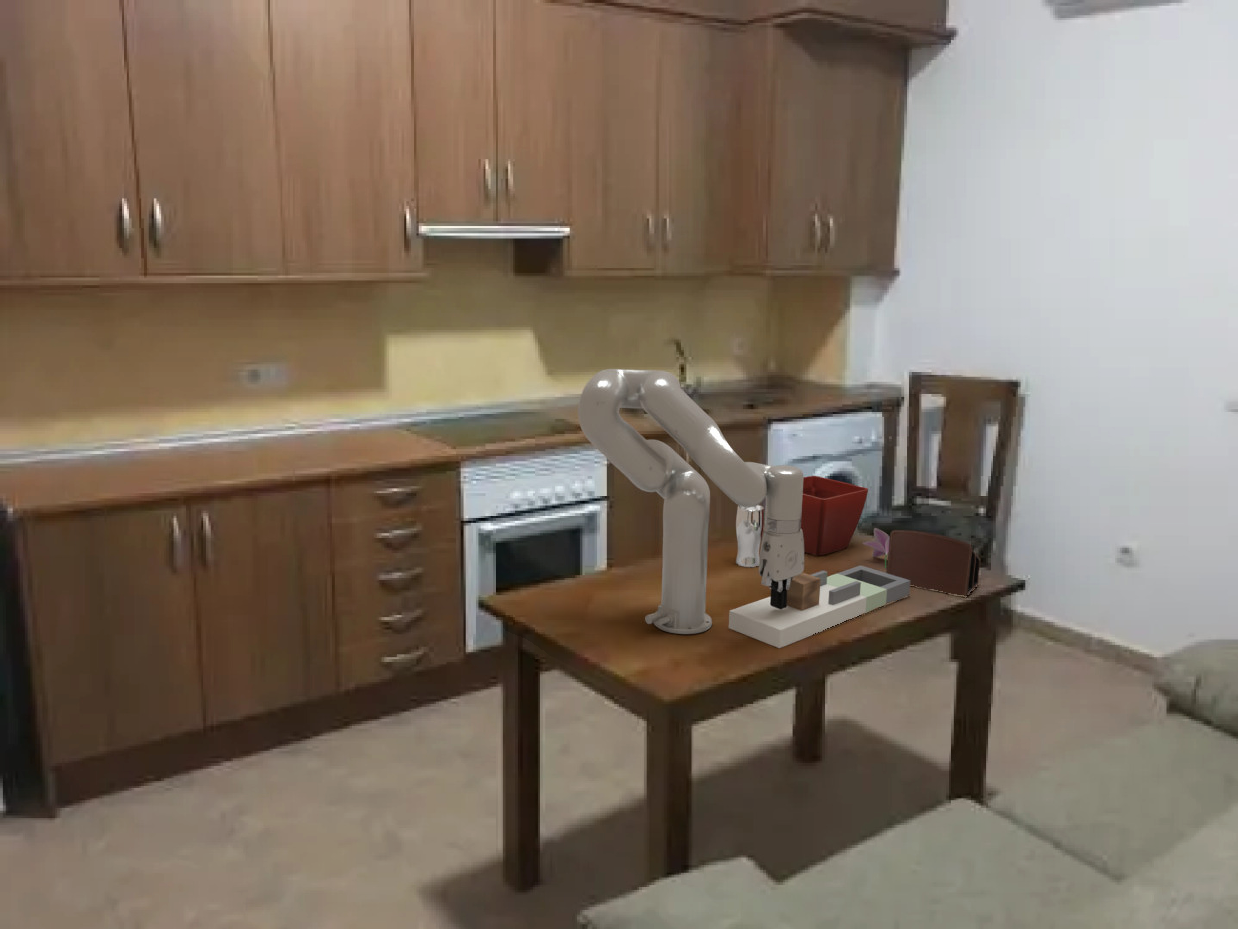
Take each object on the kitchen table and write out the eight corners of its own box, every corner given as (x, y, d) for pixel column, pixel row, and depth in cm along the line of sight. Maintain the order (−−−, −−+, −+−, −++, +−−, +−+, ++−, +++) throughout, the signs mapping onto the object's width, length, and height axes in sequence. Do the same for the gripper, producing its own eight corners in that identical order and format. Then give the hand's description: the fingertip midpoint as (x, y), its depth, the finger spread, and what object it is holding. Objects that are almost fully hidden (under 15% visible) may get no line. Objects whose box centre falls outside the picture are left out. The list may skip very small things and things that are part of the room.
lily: (919, 572, 268) (919, 535, 271) (895, 563, 260) (896, 525, 263) (878, 575, 276) (878, 539, 279) (853, 566, 268) (854, 530, 271)
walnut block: (801, 610, 226) (803, 584, 225) (779, 603, 230) (781, 577, 229) (818, 604, 230) (820, 578, 229) (797, 597, 234) (798, 571, 233)
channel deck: (779, 648, 216) (781, 616, 215) (728, 628, 226) (730, 597, 225) (909, 596, 247) (911, 568, 246) (859, 580, 257) (861, 553, 256)
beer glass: (741, 557, 273) (743, 501, 270) (765, 562, 270) (768, 506, 266) (729, 564, 267) (732, 508, 264) (754, 569, 264) (757, 512, 260)
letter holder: (966, 599, 247) (972, 541, 244) (884, 581, 258) (889, 526, 254) (978, 587, 255) (984, 531, 252) (898, 571, 266) (903, 517, 262)
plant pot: (810, 532, 297) (813, 474, 293) (865, 549, 282) (870, 488, 279) (764, 544, 285) (767, 484, 281) (819, 562, 270) (824, 499, 266)
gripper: (773, 535, 213) (769, 620, 217) (819, 522, 223) (814, 603, 227) (745, 527, 219) (741, 610, 223) (791, 514, 228) (787, 594, 233)
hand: (778, 606), depth 225 cm, fingers closed
